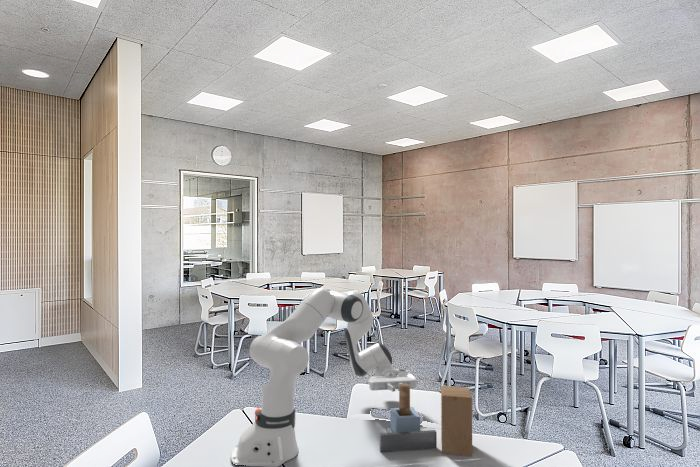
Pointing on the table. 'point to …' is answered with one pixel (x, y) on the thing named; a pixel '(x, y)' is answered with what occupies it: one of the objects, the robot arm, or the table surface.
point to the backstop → (407, 440)
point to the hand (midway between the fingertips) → (397, 389)
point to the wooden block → (456, 420)
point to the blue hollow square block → (404, 421)
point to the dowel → (404, 399)
